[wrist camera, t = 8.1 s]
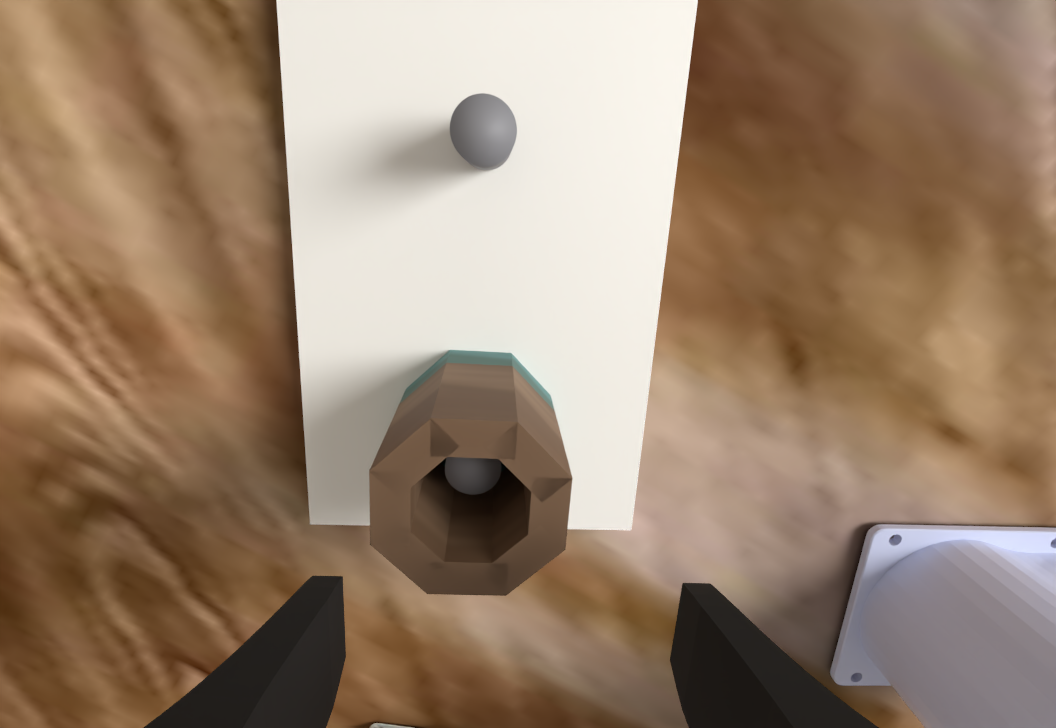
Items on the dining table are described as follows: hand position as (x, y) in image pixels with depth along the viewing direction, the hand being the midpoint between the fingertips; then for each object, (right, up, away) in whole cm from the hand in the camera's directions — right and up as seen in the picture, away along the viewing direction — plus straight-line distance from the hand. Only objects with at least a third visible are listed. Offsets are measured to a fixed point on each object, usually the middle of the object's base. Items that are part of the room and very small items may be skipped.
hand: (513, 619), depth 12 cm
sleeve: (-1, +3, +8) cm, 9 cm away
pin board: (-1, +8, +8) cm, 11 cm away
